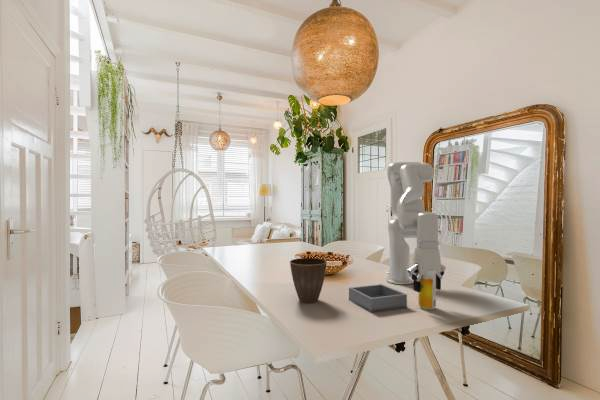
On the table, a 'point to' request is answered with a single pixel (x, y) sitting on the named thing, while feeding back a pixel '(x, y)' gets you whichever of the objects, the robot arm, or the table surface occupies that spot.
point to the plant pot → (308, 278)
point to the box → (377, 298)
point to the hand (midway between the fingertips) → (427, 289)
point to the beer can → (428, 291)
